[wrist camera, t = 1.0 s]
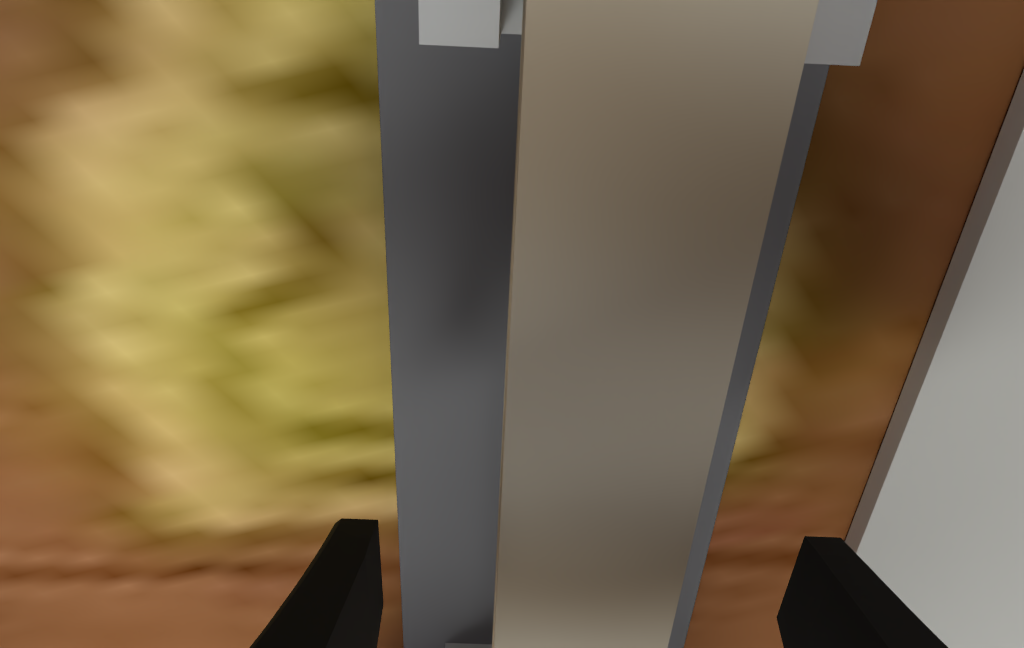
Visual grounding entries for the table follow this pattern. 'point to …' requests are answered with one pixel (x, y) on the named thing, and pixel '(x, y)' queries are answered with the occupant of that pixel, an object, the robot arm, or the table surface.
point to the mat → (962, 433)
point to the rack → (504, 290)
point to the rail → (629, 296)
